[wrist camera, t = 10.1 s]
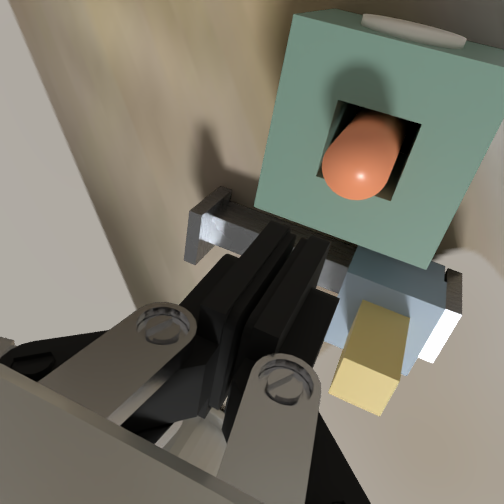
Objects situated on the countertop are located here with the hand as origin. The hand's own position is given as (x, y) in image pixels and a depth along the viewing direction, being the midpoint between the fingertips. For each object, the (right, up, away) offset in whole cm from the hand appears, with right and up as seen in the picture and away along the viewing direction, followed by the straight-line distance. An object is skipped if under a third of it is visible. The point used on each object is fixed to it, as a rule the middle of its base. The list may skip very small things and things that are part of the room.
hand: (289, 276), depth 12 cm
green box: (+8, +9, +16) cm, 20 cm away
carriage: (+9, -1, +21) cm, 23 cm away
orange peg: (+6, +8, +14) cm, 17 cm away
